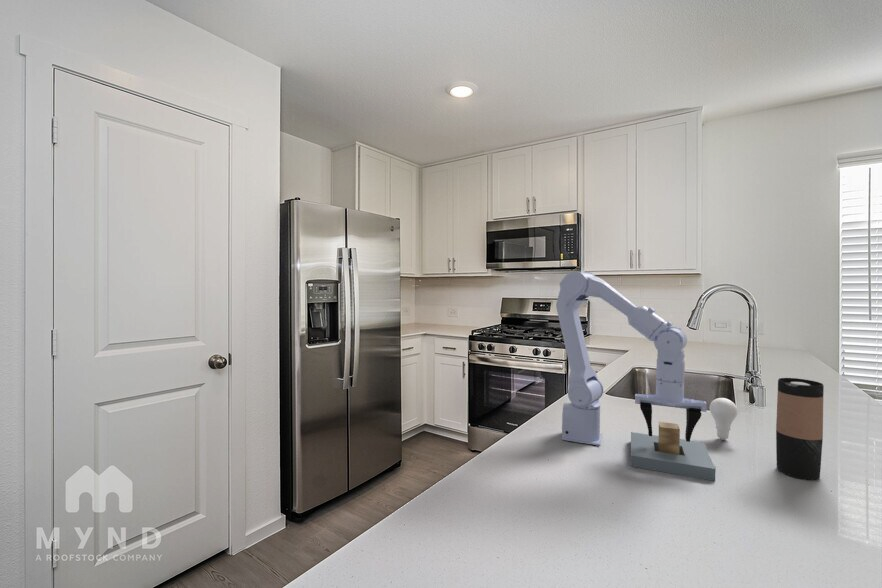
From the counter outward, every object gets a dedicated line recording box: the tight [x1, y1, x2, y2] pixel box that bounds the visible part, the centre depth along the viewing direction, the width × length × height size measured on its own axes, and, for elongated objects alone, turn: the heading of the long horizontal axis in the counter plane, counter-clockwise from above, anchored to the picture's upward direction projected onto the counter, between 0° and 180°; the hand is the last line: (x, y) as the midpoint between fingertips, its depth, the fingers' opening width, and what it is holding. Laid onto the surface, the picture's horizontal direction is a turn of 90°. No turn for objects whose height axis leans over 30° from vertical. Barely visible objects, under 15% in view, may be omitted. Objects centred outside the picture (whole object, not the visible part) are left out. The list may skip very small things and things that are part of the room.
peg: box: [658, 421, 681, 455], centre depth 97 cm, size 4×4×8 cm
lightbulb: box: [709, 397, 739, 441], centre depth 109 cm, size 6×6×11 cm
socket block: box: [630, 431, 717, 482], centre depth 97 cm, size 16×16×2 cm
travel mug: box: [775, 377, 825, 481], centre depth 90 cm, size 8×8×20 cm
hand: (668, 437), depth 97 cm, fingers open, 7 cm apart
